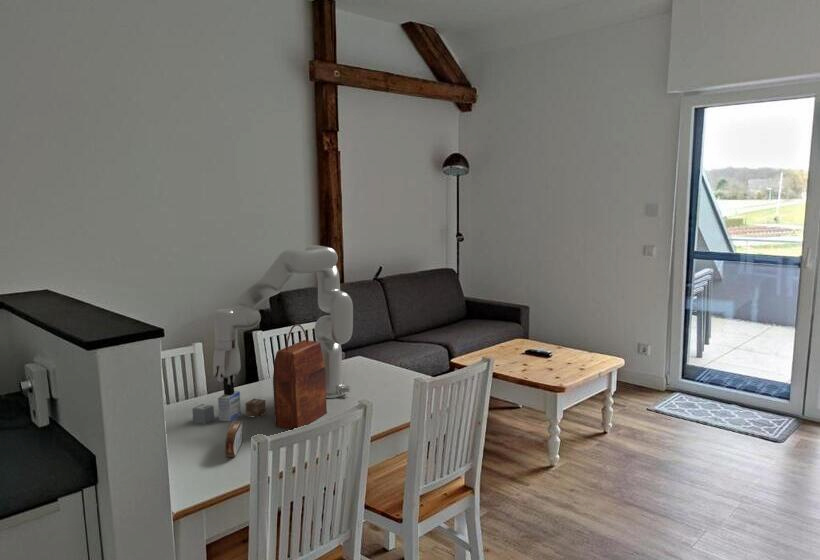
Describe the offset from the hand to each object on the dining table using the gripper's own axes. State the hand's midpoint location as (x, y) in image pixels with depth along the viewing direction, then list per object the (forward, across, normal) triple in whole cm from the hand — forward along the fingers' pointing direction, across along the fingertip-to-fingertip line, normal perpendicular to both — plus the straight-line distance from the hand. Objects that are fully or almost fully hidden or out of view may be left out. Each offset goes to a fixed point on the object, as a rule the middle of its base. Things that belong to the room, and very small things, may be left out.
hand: (229, 393), depth 209 cm
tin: (+9, +23, +19) cm, 31 cm away
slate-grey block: (+9, +6, -7) cm, 13 cm away
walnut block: (+9, -6, +7) cm, 13 cm away
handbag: (+9, -7, +25) cm, 27 cm away
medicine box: (+9, 0, 0) cm, 9 cm away
